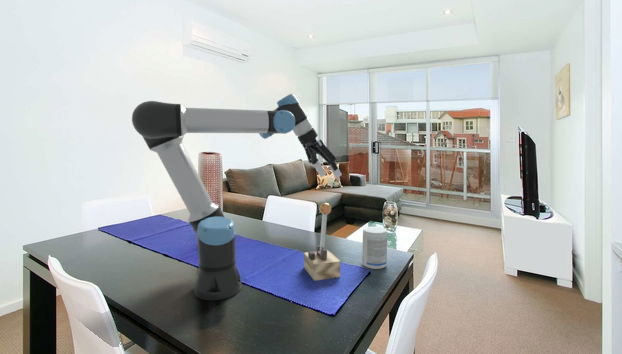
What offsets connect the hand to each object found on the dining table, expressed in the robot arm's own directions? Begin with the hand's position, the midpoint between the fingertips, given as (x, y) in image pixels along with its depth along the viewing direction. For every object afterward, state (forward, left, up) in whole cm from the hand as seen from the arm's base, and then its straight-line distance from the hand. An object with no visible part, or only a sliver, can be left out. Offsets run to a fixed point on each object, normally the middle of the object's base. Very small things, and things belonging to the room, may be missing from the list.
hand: (331, 176), depth 128 cm
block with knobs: (-14, -7, -35) cm, 38 cm away
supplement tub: (+5, -19, -35) cm, 40 cm away
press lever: (-14, -7, -27) cm, 31 cm away
